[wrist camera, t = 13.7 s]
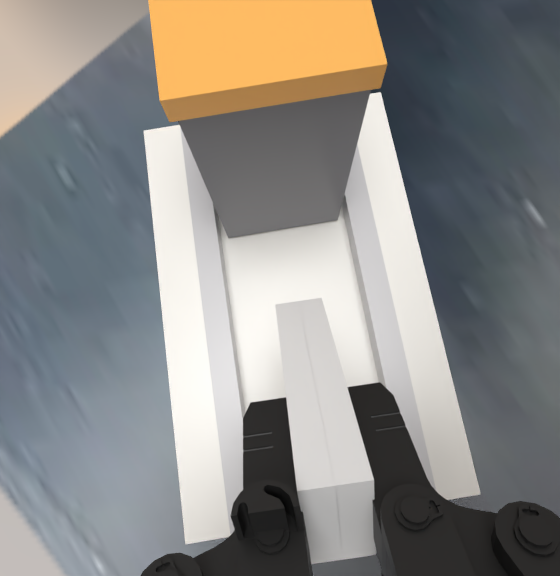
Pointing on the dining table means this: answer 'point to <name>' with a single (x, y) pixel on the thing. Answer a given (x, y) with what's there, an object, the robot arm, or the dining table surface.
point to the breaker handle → (269, 101)
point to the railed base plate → (290, 288)
